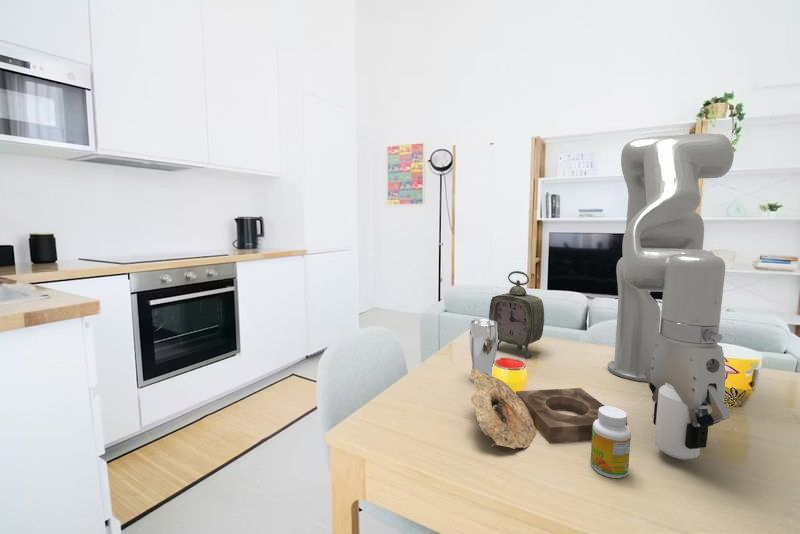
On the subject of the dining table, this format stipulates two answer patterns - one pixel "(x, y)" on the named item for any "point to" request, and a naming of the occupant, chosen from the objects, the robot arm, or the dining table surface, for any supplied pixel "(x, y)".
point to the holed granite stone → (501, 412)
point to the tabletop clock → (518, 316)
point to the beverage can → (673, 424)
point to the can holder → (558, 424)
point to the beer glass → (483, 344)
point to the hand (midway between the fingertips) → (678, 434)
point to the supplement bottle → (610, 443)
